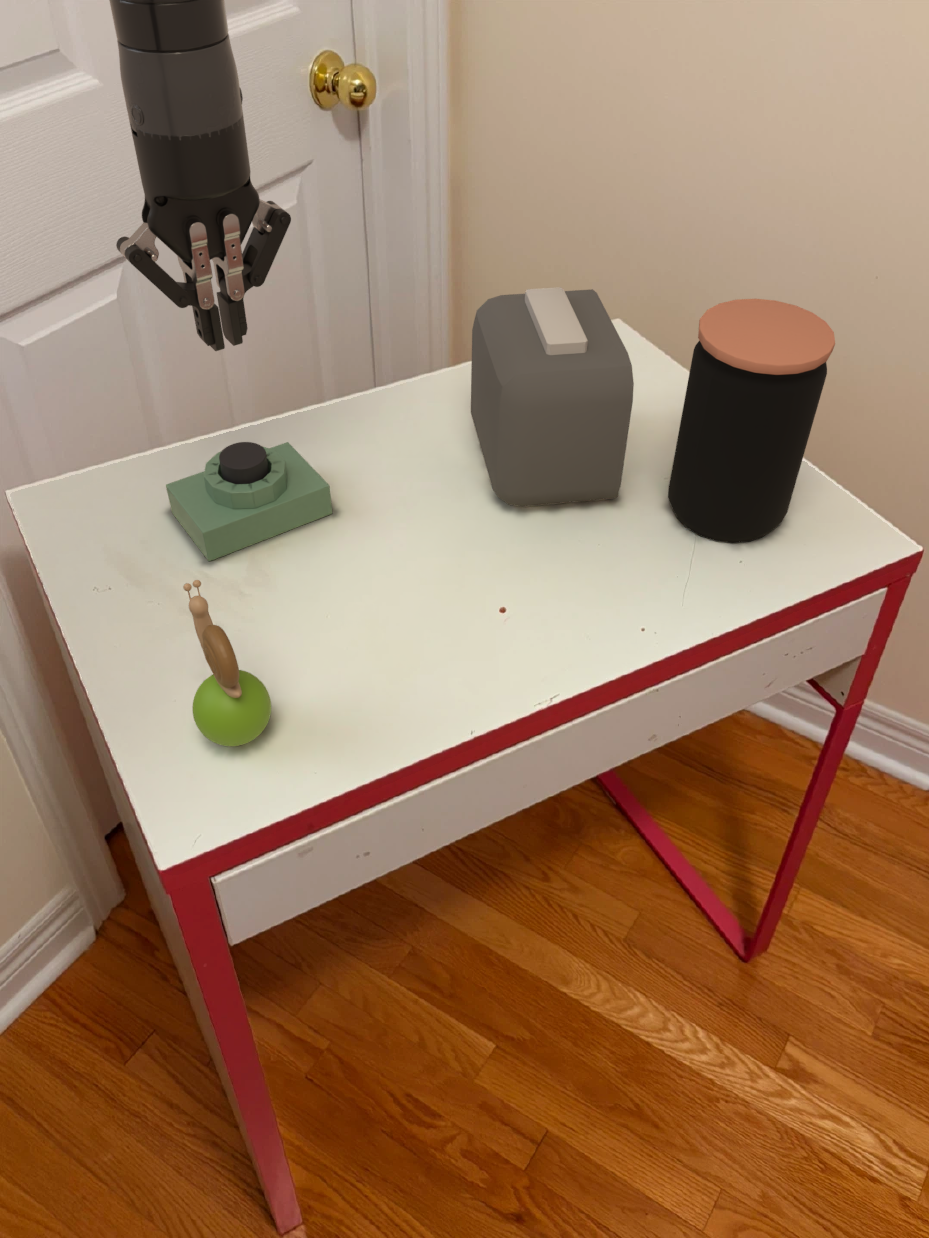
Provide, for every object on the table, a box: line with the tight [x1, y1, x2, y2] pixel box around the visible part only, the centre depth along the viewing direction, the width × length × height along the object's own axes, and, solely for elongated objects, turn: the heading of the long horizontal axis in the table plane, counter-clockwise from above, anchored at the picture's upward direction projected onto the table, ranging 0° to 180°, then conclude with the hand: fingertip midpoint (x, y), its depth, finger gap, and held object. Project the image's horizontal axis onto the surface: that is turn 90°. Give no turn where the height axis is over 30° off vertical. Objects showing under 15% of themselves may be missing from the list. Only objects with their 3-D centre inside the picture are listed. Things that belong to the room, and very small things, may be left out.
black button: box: [219, 441, 269, 484], centre depth 90 cm, size 4×4×2 cm
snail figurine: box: [183, 579, 272, 747], centre depth 72 cm, size 5×6×12 cm
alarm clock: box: [470, 286, 635, 508], centre depth 95 cm, size 16×11×16 cm
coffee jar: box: [667, 298, 836, 544], centre depth 89 cm, size 11×11×18 cm
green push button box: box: [165, 441, 333, 562], centre depth 92 cm, size 12×8×5 cm, turn 124°
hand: (224, 343), depth 82 cm, fingers closed
